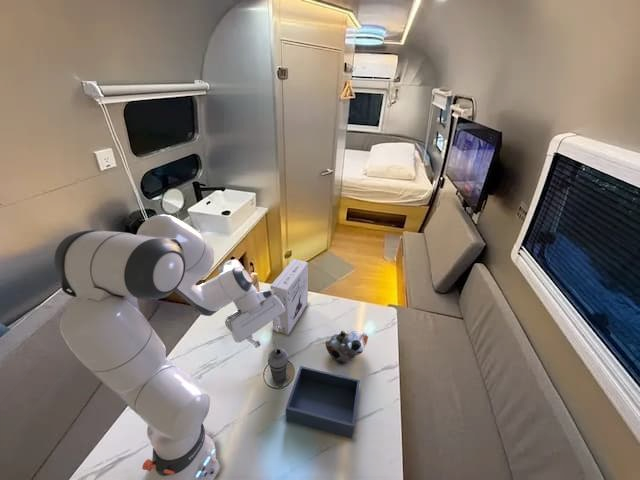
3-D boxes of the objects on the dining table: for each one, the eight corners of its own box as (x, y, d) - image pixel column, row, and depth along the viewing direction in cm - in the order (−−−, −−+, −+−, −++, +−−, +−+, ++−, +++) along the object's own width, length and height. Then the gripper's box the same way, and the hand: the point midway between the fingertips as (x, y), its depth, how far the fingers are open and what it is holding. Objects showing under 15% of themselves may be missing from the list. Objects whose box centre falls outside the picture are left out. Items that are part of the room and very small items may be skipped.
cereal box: (288, 335, 120) (286, 290, 107) (273, 329, 122) (270, 285, 110) (307, 303, 137) (308, 262, 125) (294, 299, 140) (293, 258, 127)
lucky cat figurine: (343, 332, 122) (361, 316, 114) (358, 357, 116) (378, 342, 109) (319, 343, 111) (337, 325, 104) (335, 371, 105) (355, 354, 98)
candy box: (250, 308, 133) (247, 283, 125) (243, 306, 134) (240, 281, 127) (260, 297, 140) (258, 273, 133) (253, 295, 141) (250, 271, 134)
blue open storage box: (352, 439, 85) (354, 427, 82) (286, 420, 89) (285, 408, 86) (357, 392, 98) (359, 379, 95) (300, 377, 102) (300, 365, 99)
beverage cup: (285, 391, 97) (284, 353, 88) (266, 387, 99) (262, 349, 89) (291, 373, 104) (290, 336, 94) (273, 369, 105) (270, 332, 95)
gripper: (225, 317, 86) (247, 356, 85) (275, 287, 99) (294, 321, 99) (220, 320, 90) (240, 357, 90) (268, 291, 104) (286, 323, 103)
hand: (269, 338), depth 94 cm, fingers open, 8 cm apart
